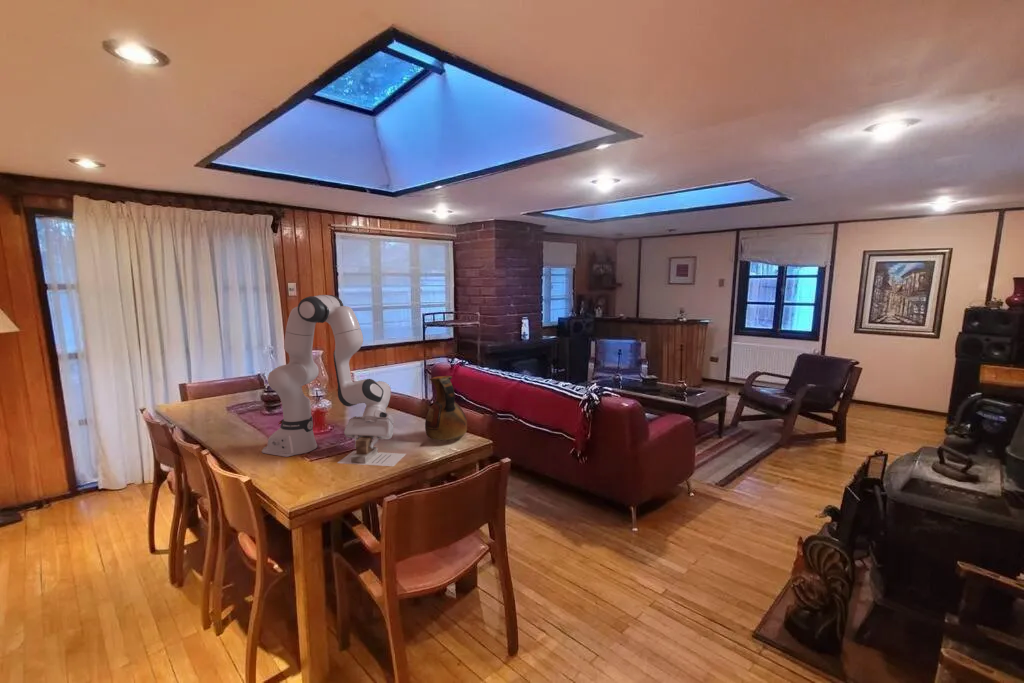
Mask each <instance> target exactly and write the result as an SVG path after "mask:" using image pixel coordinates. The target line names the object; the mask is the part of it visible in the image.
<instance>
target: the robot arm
mask: <svg viewBox="0 0 1024 683" xmlns="http://www.w3.org/2000/svg"><path fill="white" fill-rule="evenodd" d="M317 323H320V324H323V323H328V325H330V328H331V330H332V334H333V337H334V344H335V346H334V350H333V353H332V354H333V363H334V364H333V365H334V370H335V376H336V383H337V397H338V398H337V399H338V400H339V402H340V403H341V404H342V405H343V406H345V407H353V406H356V405H359V404H365V408H364V411H363V413H362V416H355V415H354V416H352V417H350V418H349V420H348V423H346V426H345V429H344V430H343V431H344V432H343V435H345V437H346V438H351V439H354V442H355V444H354V448H356V440H358V439H359V438H360V437H372V442H371V443H369V445H368V448H373V447H375V445H376V444H377V443H378V441H379V440H390V439H391V438H392V437H393V433H394V428H395V427H394V423H395V420H394V418H393V416H392V415H390V413H387V408H388V405H389V404H390V399H391V396H392V395H391V394H392V389H391V386H390V385H389V384H388V383H387V382H385V381H383V380H381V381H380V380H379V381H375V380H374V379H372V378H365V379H361V380H360V379H359V380H357V381H353V380H352V374H351V369H350V360H351V358H352V357H353V356H354V355H355V354H356V353H357V352H358V351H359V350H360V349H361V347H362V346H363V342H364V335H363V332H362V329H361V325H360V323H359V321H358V318H357V316H356V313H355V311H354V310H353V309H352V308H351V306H346V305H344V303H343V301H342V300H341V299H340V298H339V297H338V296H336V295H332V294H318V295H314V296H313V295H311V296H307V297H304V298H303V299H301V300H300V301H299V302H298V305H297V306H295V307H294V308H293V307H292V309H291V310H290V313H289V315H288V318H287V322H286V327H285V332H284V333H285V336H284V340H283V341H284V342H283V343H284V344H283V349H284V351H285V352H286V353H287V354H288V357H289V359H288V360H289V362H288V363H286V364H283V365H279V366H277V367H276V368H274V369H273V370H271V371H270V372H269V373H268V375H267V383H268V386H269V387H270V388H271V389H272V390H273V391H274V392H276V394H277V395H278V397H279V399H280V402H281V407H282V416H283V419H281V420H280V421H278V422H277V423H278V425H280V424H281V425H280V428H278V429H276V431H274V432H273V433H272V434H270V436H269V437H268V439H267V445H266V446H264V447H263V448H262V450H261V453H262V454H265V455H266V454H268V455H274V456H278V457H284V458H287V457H291V456H296V455H301V454H307V453H309V452H311V451H314V450H315V449H317V448H318V444H317V441H316V438H315V435H314V434H315V433H314V431H313V430H314V426H313V425H314V422H313V421H314V420H313V415H312V407H311V399H310V398H309V397H308V396H306V395H305V393H304V391H303V386H305V385H308V384H311V383H312V382H313V381H314V380H316V379H317V377H318V376H319V372H320V368H319V366H318V365H317V363H316V362H315V361H314V355H313V345H314V336H315V329H316V325H317Z"/></svg>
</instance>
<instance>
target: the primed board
mask: <svg viewBox="0 0 1024 683" xmlns="http://www.w3.org/2000/svg"><path fill="white" fill-rule="evenodd" d="M355 453H356V450H353V451H352V452H350V453H348V454H347V455H346V456H344V457H343V458H341V459H339V461H337V464H346V465H361V466H362V465H365V466H377V467H378V466H380V467H381V466H382V467H395V466H396V465H397V464H398V463H399V462H401V460H402V459H403V458H404V457H405V456H407V453H397V452H380V451H379V452H378V453H377V454H376V455H375V456H373V457H372V458H371V459H370V460H369V461H367V462H366V463H351V456H352V455H354V454H355Z"/></svg>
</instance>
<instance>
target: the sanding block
mask: <svg viewBox="0 0 1024 683" xmlns="http://www.w3.org/2000/svg"><path fill="white" fill-rule="evenodd" d="M372 441H373V439H372V437H360V438H359V439H358V440H356V442H355V443H356V447H355V451H356V453H355V454H354V455H352V456H351V463H366V462H367V461H369V460H370V459H371V458H372V457H373V456H375V455H376V454H377V453H378V446H373V448H368V445H369V443H371V442H372Z"/></svg>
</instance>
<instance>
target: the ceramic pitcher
mask: <svg viewBox="0 0 1024 683" xmlns="http://www.w3.org/2000/svg"><path fill="white" fill-rule="evenodd" d="M452 378H453V376H452V375H441V376H440V375H439V376H434V377H432V378H429V380H430V381H431V382H432V384H434V387H435V391H436V400H435V402H434V403H433V404H432V405H431V406H430V408H429V410H428V411H427V414H426V416H425V420H424V421H425V422H424V429H425V434H426V436H427V438H429V439H431V440H436V441H451V440H459V439H461V438H463V437H464V436H465V434H466V433H467V431H468V420H467V416H466V414H465V411H464V410H463V408H462V407H461V406H460V405H459V403H457V402H456V401H455V395H456V394H455V389H454V386H453V383H452V381H451V379H452Z"/></svg>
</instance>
